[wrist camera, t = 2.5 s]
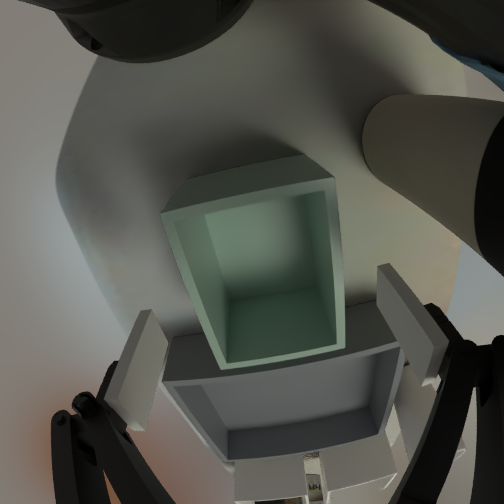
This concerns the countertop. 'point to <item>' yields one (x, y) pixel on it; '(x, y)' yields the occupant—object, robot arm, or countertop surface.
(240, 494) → the white cubby shelf
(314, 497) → the coffee box
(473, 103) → the travel mug
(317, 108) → the countertop surface
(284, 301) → the box
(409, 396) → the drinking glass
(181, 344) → the big crate
